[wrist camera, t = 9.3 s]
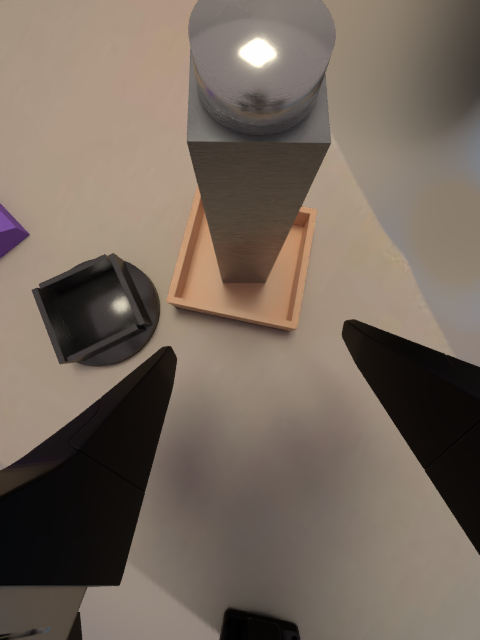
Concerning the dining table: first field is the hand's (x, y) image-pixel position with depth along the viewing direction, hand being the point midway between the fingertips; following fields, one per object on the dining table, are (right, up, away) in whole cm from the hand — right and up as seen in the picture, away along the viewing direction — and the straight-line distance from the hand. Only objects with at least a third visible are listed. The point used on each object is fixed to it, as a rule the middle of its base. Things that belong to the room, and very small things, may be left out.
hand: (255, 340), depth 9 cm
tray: (0, +7, +10) cm, 12 cm away
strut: (0, +7, +10) cm, 12 cm away
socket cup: (-15, +2, +9) cm, 17 cm away
